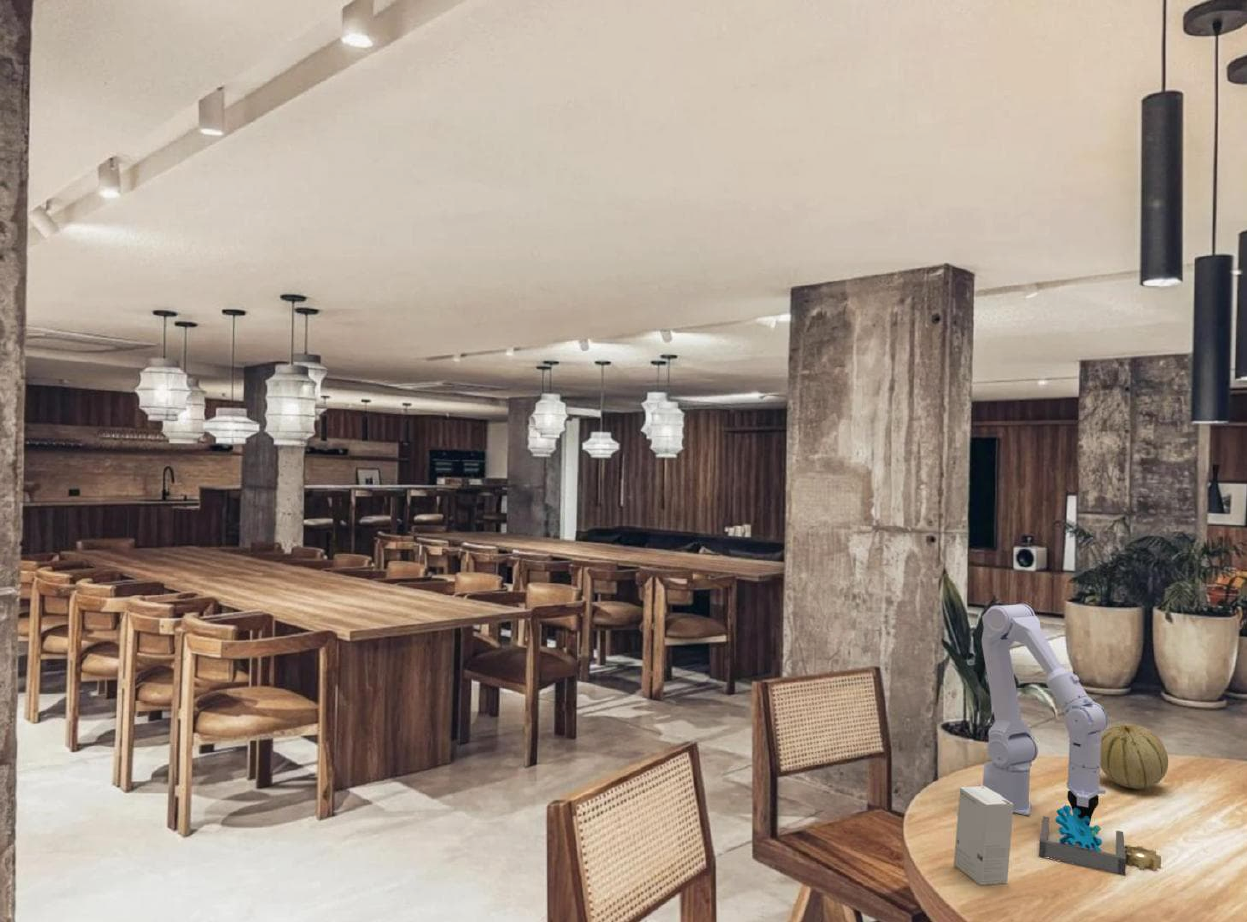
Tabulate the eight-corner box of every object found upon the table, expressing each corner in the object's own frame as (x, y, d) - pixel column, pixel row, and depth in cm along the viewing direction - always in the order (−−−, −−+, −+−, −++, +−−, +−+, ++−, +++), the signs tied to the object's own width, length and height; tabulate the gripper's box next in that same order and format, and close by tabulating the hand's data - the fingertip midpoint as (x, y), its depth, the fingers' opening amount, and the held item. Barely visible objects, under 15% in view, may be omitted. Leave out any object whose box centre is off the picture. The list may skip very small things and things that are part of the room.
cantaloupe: (1167, 784, 213) (1170, 722, 213) (1166, 803, 200) (1168, 737, 200) (1097, 771, 221) (1100, 711, 221) (1092, 788, 208) (1094, 724, 208)
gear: (1077, 854, 168) (1051, 803, 175) (1055, 867, 172) (1031, 816, 178) (1117, 854, 172) (1090, 804, 179) (1095, 867, 176) (1070, 817, 183)
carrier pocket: (1038, 856, 170) (1039, 841, 170) (1042, 830, 183) (1042, 815, 183) (1163, 883, 161) (1164, 867, 161) (1158, 854, 173) (1158, 838, 173)
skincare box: (953, 866, 165) (956, 786, 165) (981, 863, 166) (984, 784, 166) (982, 887, 157) (985, 803, 157) (1011, 884, 158) (1014, 801, 158)
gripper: (1106, 778, 172) (1104, 848, 173) (1106, 757, 185) (1103, 822, 185) (1066, 771, 176) (1063, 839, 176) (1068, 751, 189) (1066, 815, 189)
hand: (1081, 830), depth 181 cm, fingers closed
